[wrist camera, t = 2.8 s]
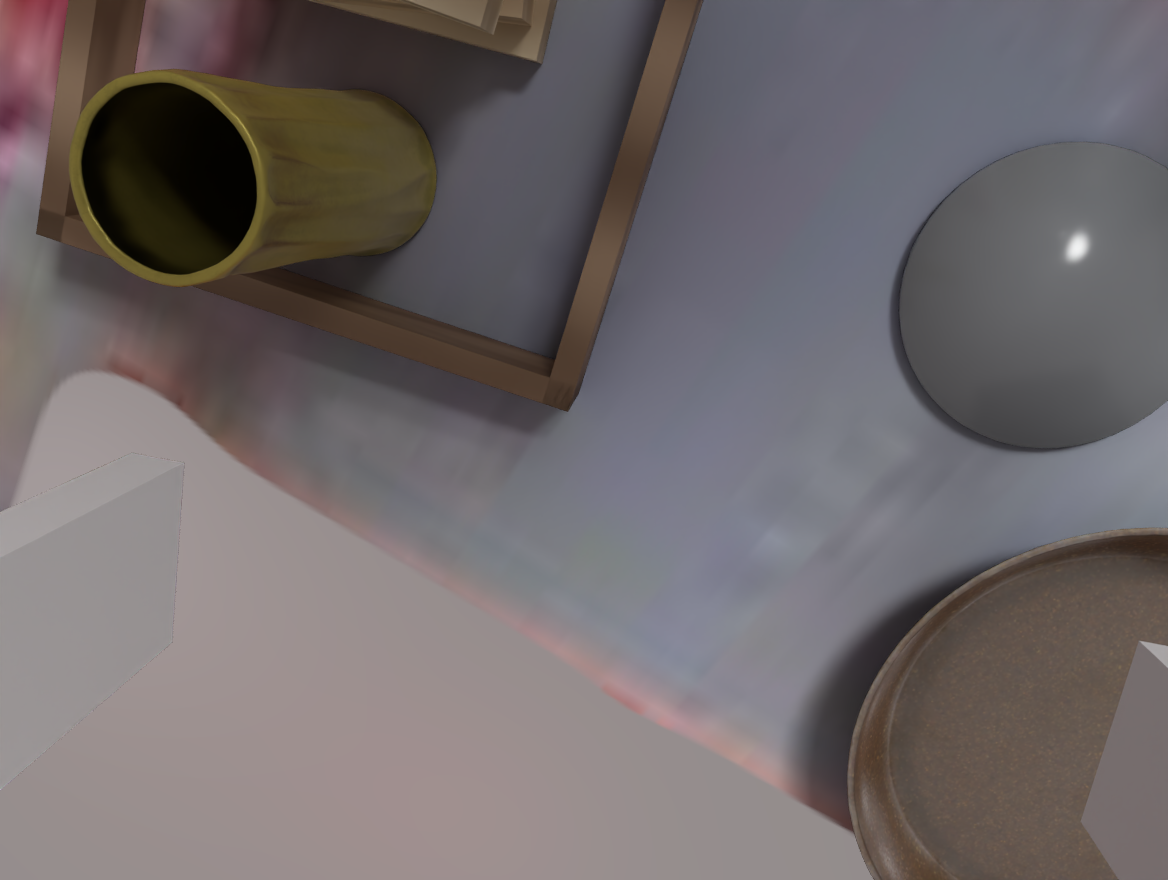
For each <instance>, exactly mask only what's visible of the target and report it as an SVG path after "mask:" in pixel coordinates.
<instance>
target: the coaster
mask: <svg viewBox="0 0 1168 880" xmlns="http://www.w3.org/2000/svg"><path fill="white" fill-rule="evenodd" d="M899 322H900V332H901V336H902V341H903V345H904V349H905V352H906V355H907V357H908V360H909V363H910V365H911V367H912V369H913V371H914V373H915V375H916V377H917V378H918V380H919V382H920V383H921V385H922V386H923V387H924V389H925V390H926V391H927V393H928V394H929V395H930V397H931V398H932V399H933V400H934V401H935V402H936V403H937V404H938V405H939V406H940V407H941V408H942V409H943V410H944V411H945V412H946V413H947V414H948V415H950V416H951V417H952V418H954V419H955V420H956V421H958V422H959V423H960V424H962V425H964V426H965V427H967V428H969V429H971V430H972V431H974V432H976V433H978V434H980V435H983V436H985V437H988V438H990V439H993V440H995V441H999V442H1003V443H1007V444H1011V445H1015V446H1022V447H1030V448H1061V447H1070V446H1077V445H1081V444H1085V443H1090V442H1094V441H1097V440H1100V439H1103V438H1106V437H1108V436H1111V435H1114V434H1116V433H1118V432H1120V431H1122V430H1124V429H1126V428H1128V427H1131V426H1133V425H1134V424H1136V423H1138V422H1139V421H1141V420H1142V419H1144V418H1145V417H1147V416H1148V415H1150V414H1152V413H1153V412H1154V411H1155V410H1157V409H1158V408H1159V407H1160V406H1161V405H1163V404H1164V403H1165V402H1166V401H1168V169H1167V168H1166V167H1164V166H1162V165H1161V164H1159V163H1157V162H1155V161H1154V160H1152V159H1150V158H1148V157H1146V156H1144V155H1141V154H1139V153H1136V152H1134V151H1131V150H1129V149H1125V148H1121V147H1117V146H1113V145H1109V144H1101V143H1091V142H1064V143H1055V144H1048V145H1042V146H1037V147H1033V148H1030V149H1026V150H1023V151H1019V152H1016V153H1014V154H1011V155H1009V156H1007V157H1004V158H1002V159H1000V160H997V161H995V162H993V163H992V164H990V165H988V166H987V167H985V168H983V169H981V170H980V171H978V172H976V173H975V174H974V175H972V176H971V177H970V178H968V179H967V180H966V181H964V182H963V183H962V184H960V185H959V186H958V187H957V188H956V189H955V190H954V191H953V192H952V193H951V194H950V195H948V196H947V197H946V198H945V199H944V200H943V202H942V203H941V204H940V205H939V206H938V208H937V209H936V210H935V211H934V212H933V214H932V215H931V216H930V217H929V219H928V221H927V222H926V224H925V225H924V227H923V228H922V230H921V231H920V233H919V235H918V237H917V239H916V241H915V243H914V245H913V247H912V249H911V251H910V254H909V257H908V260H907V263H906V266H905V269H904V272H903V277H902V282H901V287H900V295H899Z"/></svg>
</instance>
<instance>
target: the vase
mask: <svg viewBox="0 0 1168 880" xmlns="http://www.w3.org/2000/svg"><path fill="white" fill-rule="evenodd" d="M69 176H70V183H71V187H72V192H73V196H74V199H75V202H76V205H77V208H78V211H79V214H80V217H81V218H82V220H83V222H84V224H85V225H86V227H87V229H88V231H89V233H90V234H91V236H92V238H93V239H94V240H95V241H96V242H97V244H98V245H99V246H100V247H101V248H102V249H103V250H104V252H105V253H106V254H107V255H108V256H110V257H111V258H112V259H113V260H114V261H115V262H116V263H117V264H119V265H120V266H121V267H123V268H124V269H126V270H127V271H129V272H131V273H133V274H135V275H137V276H138V277H141V278H143V279H146V280H148V281H151V282H155V283H158V284H161V285H166V286H172V287H186V286H192V285H197V284H202V283H206V282H211V281H214V280H218V279H222V278H225V277H227V276H230V275H236V274H245V273H253V272H258V271H262V270H266V269H271V268H276V267H280V266H284V265H288V264H292V263H297V262H302V261H307V260H313V259H322V258H332V257H339V256H344V255H353V256H371V255H377V254H381V253H385V252H388V251H391V250H393V249H395V248H397V247H399V246H401V245H402V244H404V243H405V242H407V241H408V240H409V239H410V238H411V237H412V236H413V235H414V234H415V233H416V232H417V231H418V230H419V229H420V227H421V226H422V225H423V223H424V222H425V220H426V218H427V217H428V215H429V212H430V210H431V207H432V204H433V200H434V197H435V191H436V181H437V175H436V165H435V160H434V155H433V152H432V149H431V146H430V144H429V141H428V139H427V137H426V135H425V133H424V131H423V129H422V128H421V126H420V125H419V123H418V122H417V121H416V120H415V119H414V118H413V117H412V116H411V115H410V114H409V113H408V112H407V111H406V110H405V109H404V108H402V107H401V106H400V105H399V104H397V103H396V102H395V101H393V100H391V99H389V98H388V97H386V96H383V95H380V94H378V93H375V92H371V91H367V90H359V89H350V90H343V91H336V90H325V89H303V88H284V87H274V86H269V85H264V84H260V83H255V82H250V81H243V80H238V79H232V78H226V77H221V76H217V75H212V74H207V73H201V72H194V71H188V70H181V69H168V70H152V71H146V72H140V73H134V74H128V75H125V76H122V77H119V78H116V79H114V80H113V81H111V82H109V83H108V84H106V85H105V86H104V87H103V88H101V89H100V90H99V91H98V92H97V93H96V94H95V95H94V96H93V97H92V98H91V99H90V101H89V102H88V103H87V105H86V106H85V108H84V109H83V110H82V112H81V114H80V117H79V119H78V121H77V124H76V127H75V131H74V134H73V138H72V142H71V145H70V153H69Z"/></svg>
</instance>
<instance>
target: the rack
mask: <svg viewBox="0 0 1168 880" xmlns="http://www.w3.org/2000/svg"><path fill="white" fill-rule="evenodd" d="M702 3H703V0H665V4H664V7H663V10H662V13H661V17H660V20H659V23H658V26H657V30H656V33H655V36H654V39H653V43H652V46H651V49H650V52H649V56H648V59H647V62H646V66H645V69H644V72H643V75H642V79H641V82H640V85H639V88H638V92H637V95H636V98H635V101H634V105H633V108H632V111H631V114H630V118H629V121H628V124H627V128H626V131H625V134H624V137H623V141H622V144H621V147H620V150H619V154H618V157H617V160H616V163H615V167H614V170H613V173H612V176H611V180H610V183H609V186H608V190H607V193H606V196H605V199H604V203H603V206H602V209H601V212H600V216H599V219H598V222H597V225H596V229H595V232H594V235H593V238H592V242H591V245H590V248H589V252H588V255H587V258H586V261H585V265H584V268H583V271H582V274H581V278H580V281H579V284H578V287H577V291H576V294H575V297H574V300H573V304H572V307H571V310H570V313H569V317H568V320H567V323H566V327H565V330H564V333H563V336H562V340H561V343H560V346H559V349H558V353H557V356H556V359H555V360H554V359H551V358H548V357H545V356H542V355H539V354H536V353H533V352H530V351H527V350H524V349H521V348H518V347H515V346H512V345H509V344H506V343H503V342H500V341H497V340H494V339H491V338H488V337H485V336H482V335H479V334H476V333H473V332H470V331H467V330H464V329H461V328H458V327H455V326H452V325H449V324H446V323H443V322H440V321H437V320H434V319H431V318H428V317H425V316H422V315H419V314H416V313H413V312H410V311H407V310H404V309H401V308H398V307H395V306H392V305H389V304H386V303H383V302H380V301H377V300H374V299H371V298H368V297H365V296H362V295H359V294H356V293H353V292H350V291H347V290H344V289H341V288H338V287H335V286H332V285H329V284H326V283H323V282H320V281H317V280H314V279H311V278H308V277H305V276H302V275H299V274H296V273H293V272H290V271H287V270H284V269H281V268H278V267H276V268H271V269H266V270H262V271H258V272H253V273H245V274H236V275H230V276H227V277H225V278H222V279H218V280H214V281H211V282H206V283H202V284H197V285H192V286H193V287H196V288H199V289H202V290H205V291H208V292H211V293H214V294H217V295H220V296H223V297H226V298H229V299H232V300H235V301H238V302H241V303H244V304H247V305H250V306H253V307H256V308H259V309H262V310H265V311H268V312H271V313H274V314H277V315H280V316H283V317H286V318H289V319H292V320H295V321H298V322H301V323H304V324H307V325H310V326H313V327H316V328H319V329H322V330H325V331H328V332H331V333H334V334H337V335H340V336H343V337H346V338H349V339H352V340H355V341H358V342H361V343H364V344H367V345H370V346H373V347H376V348H379V349H382V350H385V351H388V352H391V353H394V354H397V355H400V356H403V357H406V358H409V359H412V360H415V361H417V362H420V363H423V364H426V365H429V366H432V367H435V368H438V369H441V370H444V371H447V372H450V373H453V374H456V375H459V376H462V377H465V378H468V379H471V380H474V381H477V382H480V383H483V384H486V385H489V386H492V387H495V388H498V389H501V390H504V391H507V392H510V393H513V394H516V395H519V396H522V397H525V398H528V399H531V400H534V401H537V402H540V403H543V404H546V405H549V406H552V407H555V408H558V409H561V410H564V411H567V412H568V411H569V409H570V407H571V406H572V404H573V402H574V400H575V399H576V397H577V395H578V394H579V391H580V387H581V384H582V381H583V378H584V375H585V372H586V368H587V365H588V362H589V359H590V356H591V353H592V350H593V346H594V343H595V340H596V337H597V334H598V331H599V327H600V324H601V321H602V318H603V315H604V312H605V309H606V305H607V302H608V299H609V296H610V293H611V290H612V286H613V283H614V280H615V277H616V274H617V271H618V268H619V264H620V261H621V258H622V255H623V252H624V249H625V245H626V242H627V239H628V236H629V233H630V230H631V227H632V223H633V220H634V217H635V214H636V211H637V208H638V204H639V201H640V198H641V195H642V192H643V189H644V186H645V182H646V179H647V176H648V173H649V170H650V167H651V163H652V160H653V157H654V154H655V151H656V148H657V145H658V141H659V138H660V135H661V132H662V129H663V126H664V122H665V119H666V116H667V113H668V110H669V107H670V104H671V100H672V97H673V94H674V91H675V88H676V85H677V81H678V78H679V75H680V72H681V69H682V66H683V63H684V59H685V56H686V53H687V50H688V47H689V44H690V40H691V37H692V34H693V31H694V28H695V25H696V22H697V18H698V15H699V12H700V9H701V6H702ZM144 6H145V0H69V1H68V8H67V15H66V23H65V30H64V37H63V44H62V51H61V59H60V66H59V73H58V80H57V87H56V95H55V102H54V109H53V116H52V123H51V131H50V138H49V145H48V152H47V159H46V167H45V174H44V181H43V188H42V195H41V203H40V210H39V217H38V224H37V231H36V234H38V235H41V236H44V237H47V238H50V239H53V240H56V241H59V242H62V243H65V244H68V245H71V246H74V247H77V248H80V249H83V250H86V251H89V252H92V253H95V254H98V255H101V256H104V257H107V258H110V259H112V258H111V257H110V256H108V255H107V254H106V253H105V252H104V250H103V249H102V248H101V247H100V246H99V245H98V244H97V242H96V241H95V240H94V239H93V238H92V236H91V234H90V233H89V231H88V229H87V227H86V225H85V224H84V222H83V220H82V218H81V217H80V214H79V211H78V208H77V205H76V202H75V199H74V196H73V192H72V187H71V183H70V176H69V153H70V145H71V142H72V138H73V134H74V131H75V127H76V124H77V121H78V119H79V117H80V114H81V112H82V110H83V109H84V108H85V106H86V105H87V103H88V102H89V101H90V99H91V98H92V97H93V96H94V95H95V94H96V93H97V92H98V91H99V90H100V89H101V88H103V87H104V86H105V85H106V84H108V83H109V82H111V81H113V80H114V79H116V78H119V77H122V76H125V75H128V74H134V69H135V63H136V56H137V50H138V44H139V38H140V31H141V25H142V19H143V13H144Z"/></svg>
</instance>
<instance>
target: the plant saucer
mask: <svg viewBox="0 0 1168 880" xmlns="http://www.w3.org/2000/svg"><path fill="white" fill-rule="evenodd" d="M1139 641H1143V642H1149V643H1154V644H1159V645H1165V646H1168V528H1134V529H1120V530H1111V531H1104V532H1098V533H1092V534H1086V535H1081V536H1077V537H1072V538H1068V539H1064V540H1060V541H1057V542H1054V543H1051V544H1047V545H1044V546H1041V547H1037V548H1034V549H1032V550H1029V551H1027V552H1025V553H1022V554H1020V555H1018V556H1015V557H1013V558H1011V559H1008V560H1006V561H1004V562H1002V563H1000V564H998V565H996V566H994V567H992V568H990V569H988V570H986V571H985V572H983V573H981V574H979V575H977V576H976V577H974V578H973V579H971V580H969V581H968V582H966V583H965V584H963V585H962V586H961V587H959V588H958V589H956V590H955V591H953V592H952V593H951V594H949V595H948V596H947V597H946V598H944V599H943V600H942V601H940V602H939V603H938V604H937V605H935V606H934V607H933V608H932V609H931V610H930V611H928V612H927V613H926V614H925V615H924V616H923V617H922V618H921V619H920V620H919V621H918V622H917V623H916V624H915V625H914V626H913V628H912V629H911V630H910V631H909V632H908V633H907V634H906V635H905V636H904V637H903V639H902V640H901V641H900V642H899V643H898V645H897V646H896V647H895V649H894V650H893V651H892V653H891V654H890V655H889V657H888V658H887V660H886V661H885V663H884V664H883V666H882V667H881V669H880V671H879V672H878V674H877V676H876V678H875V679H874V681H873V683H872V685H871V687H870V689H869V691H868V693H867V695H866V698H865V700H864V702H863V704H862V707H861V709H860V712H859V715H858V718H857V721H856V725H855V728H854V732H853V735H852V740H851V746H850V751H849V759H848V770H847V794H848V804H849V812H850V817H851V822H852V827H853V831H854V834H855V837H856V841H857V843H858V846H859V849H860V851H861V854H862V857H863V859H864V862H865V864H866V866H867V868H868V870H869V872H870V874H871V875H872V877H873V879H874V880H1119V879H1118V878H1117V876H1116V875H1115V873H1114V872H1113V870H1112V869H1111V867H1110V866H1109V864H1108V863H1107V861H1106V860H1105V858H1104V856H1103V855H1102V853H1101V852H1100V850H1099V849H1098V847H1097V846H1096V844H1095V843H1094V841H1093V840H1092V838H1091V836H1090V835H1089V833H1088V832H1087V830H1086V829H1085V827H1084V826H1083V824H1082V823H1081V819H1082V816H1083V813H1084V810H1085V806H1086V803H1087V800H1088V797H1089V794H1090V791H1091V788H1092V785H1093V782H1094V779H1095V775H1096V772H1097V769H1098V766H1099V763H1100V760H1101V757H1102V754H1103V751H1104V748H1105V744H1106V741H1107V738H1108V735H1109V732H1110V729H1111V726H1112V723H1113V720H1114V717H1115V713H1116V710H1117V707H1118V704H1119V701H1120V698H1121V695H1122V692H1123V689H1124V686H1125V682H1126V679H1127V676H1128V673H1129V670H1130V667H1131V664H1132V661H1133V658H1134V655H1135V651H1136V648H1137V645H1138V642H1139Z"/></svg>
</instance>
